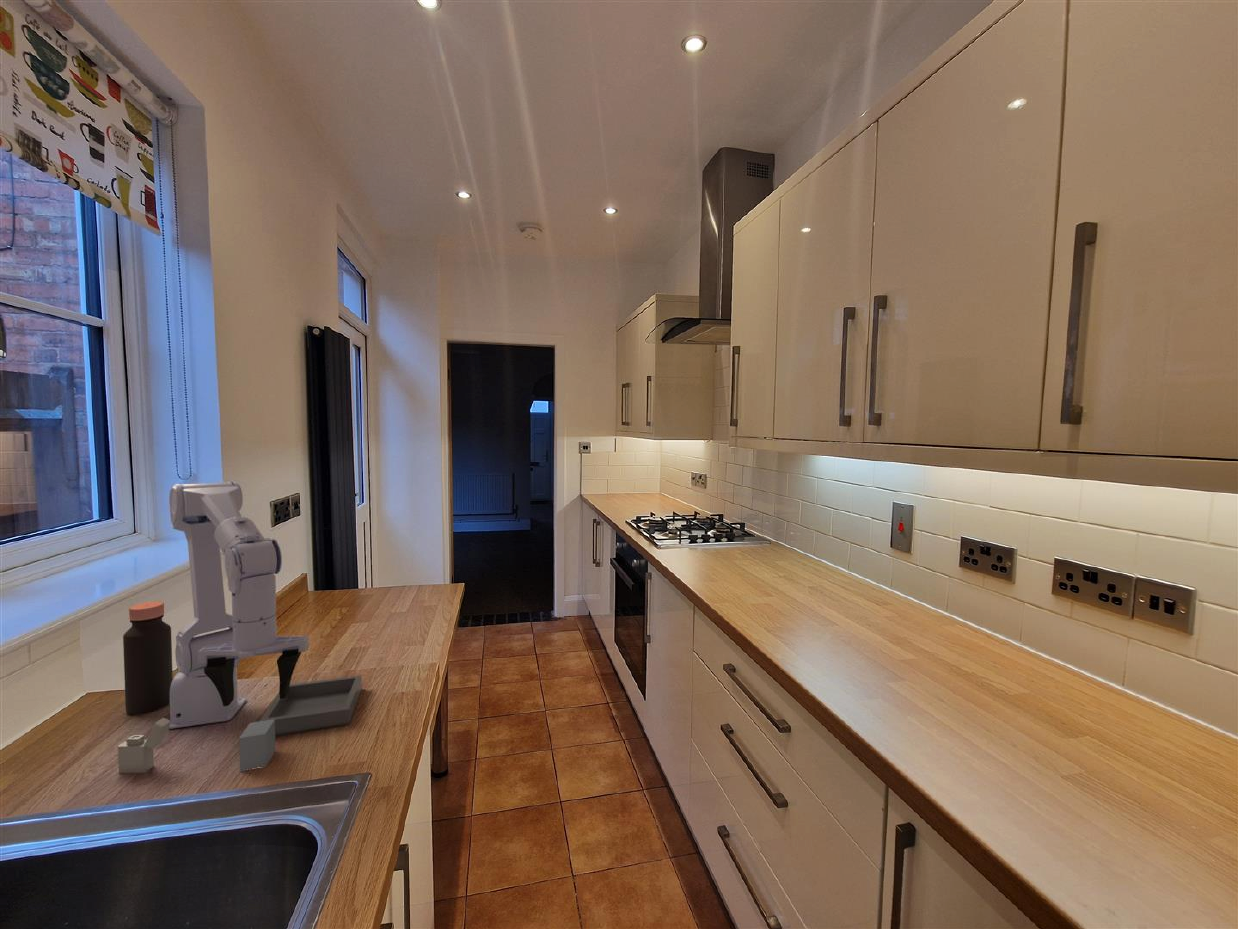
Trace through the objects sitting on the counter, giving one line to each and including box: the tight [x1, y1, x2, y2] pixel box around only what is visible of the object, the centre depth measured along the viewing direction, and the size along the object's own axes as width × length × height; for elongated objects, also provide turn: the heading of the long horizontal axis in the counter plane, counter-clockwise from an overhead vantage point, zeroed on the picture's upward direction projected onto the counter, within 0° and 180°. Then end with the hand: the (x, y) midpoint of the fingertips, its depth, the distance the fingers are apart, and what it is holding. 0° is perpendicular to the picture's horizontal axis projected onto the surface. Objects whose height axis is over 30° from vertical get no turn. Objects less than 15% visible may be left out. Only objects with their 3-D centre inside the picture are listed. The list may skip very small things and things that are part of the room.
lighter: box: [117, 717, 172, 774], centre depth 79 cm, size 7×2×8 cm, turn 91°
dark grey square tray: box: [259, 675, 363, 737], centre depth 96 cm, size 14×14×3 cm
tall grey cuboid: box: [238, 719, 276, 772], centre depth 81 cm, size 4×4×6 cm
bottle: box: [122, 601, 174, 715], centre depth 97 cm, size 7×7×20 cm
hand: (256, 699), depth 81 cm, fingers open, 7 cm apart
